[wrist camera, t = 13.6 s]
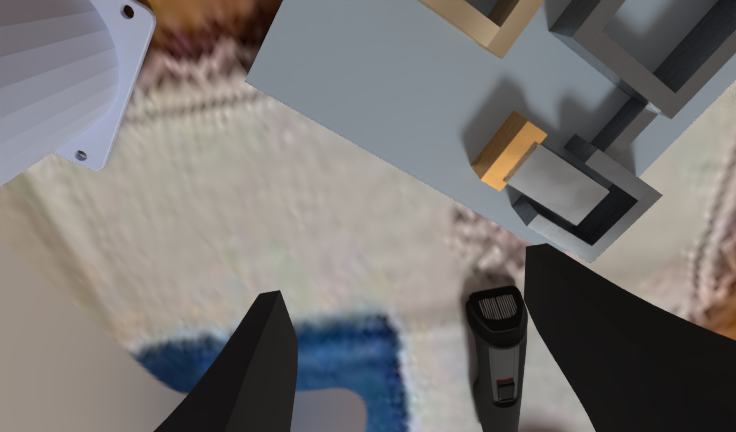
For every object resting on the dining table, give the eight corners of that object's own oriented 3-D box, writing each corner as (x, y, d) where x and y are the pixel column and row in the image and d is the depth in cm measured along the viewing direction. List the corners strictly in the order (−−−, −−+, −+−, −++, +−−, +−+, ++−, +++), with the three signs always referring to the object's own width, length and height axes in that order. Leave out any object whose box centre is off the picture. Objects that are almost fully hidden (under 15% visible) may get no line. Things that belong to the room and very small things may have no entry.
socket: (445, 167, 20) (455, 185, 19) (667, -127, 15) (710, -140, 13) (571, 242, 23) (590, 263, 22) (795, 17, 18) (844, 22, 16)
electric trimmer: (470, 429, 34) (483, 469, 32) (461, 291, 26) (476, 328, 24) (515, 421, 34) (531, 460, 32) (519, 280, 26) (541, 316, 24)
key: (470, 165, 21) (480, 179, 19) (513, 110, 19) (528, 120, 18) (554, 216, 22) (569, 233, 21) (599, 169, 21) (618, 183, 20)
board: (248, 76, 19) (244, 81, 18) (465, -383, 12) (475, -408, 12) (549, 248, 25) (557, 258, 24) (794, -3, 19) (816, -2, 18)
